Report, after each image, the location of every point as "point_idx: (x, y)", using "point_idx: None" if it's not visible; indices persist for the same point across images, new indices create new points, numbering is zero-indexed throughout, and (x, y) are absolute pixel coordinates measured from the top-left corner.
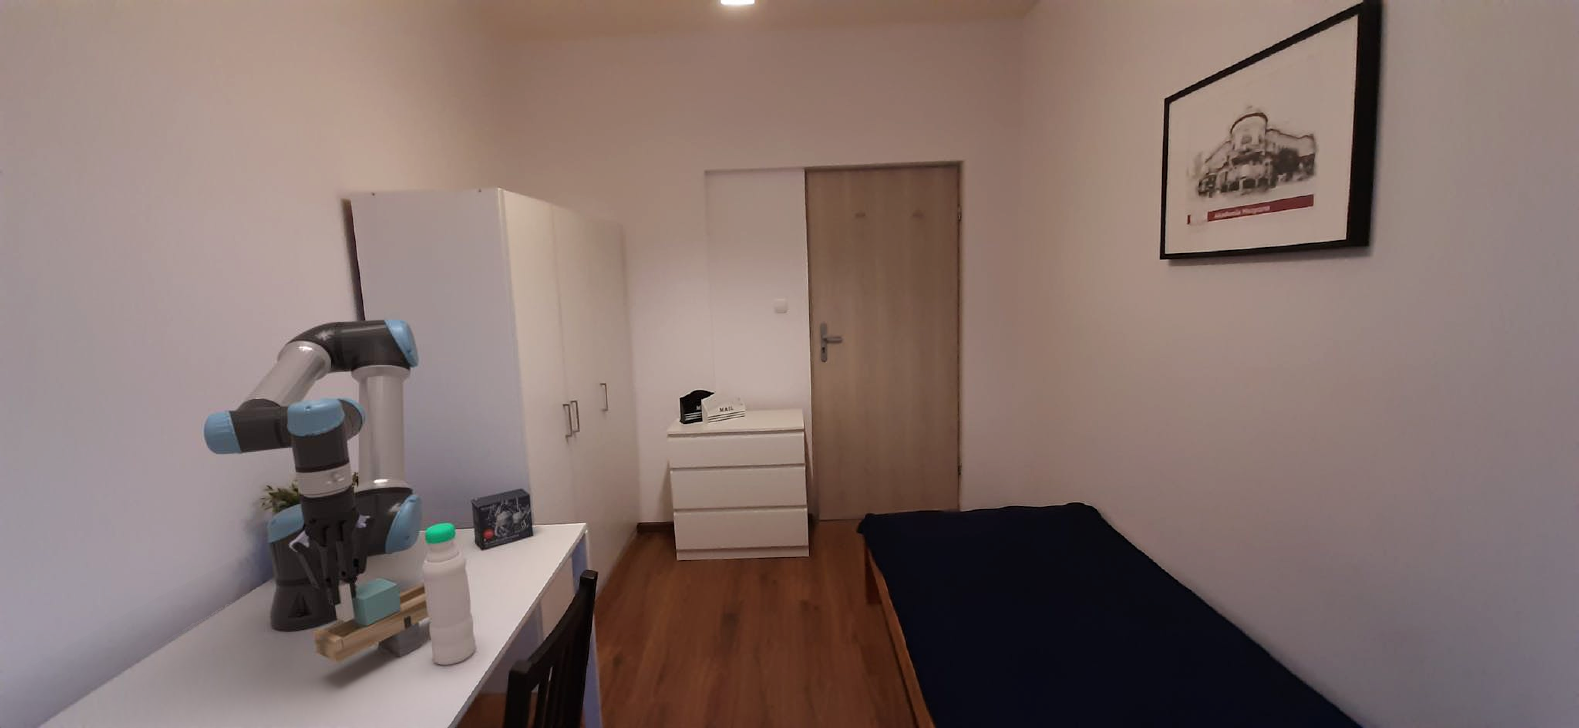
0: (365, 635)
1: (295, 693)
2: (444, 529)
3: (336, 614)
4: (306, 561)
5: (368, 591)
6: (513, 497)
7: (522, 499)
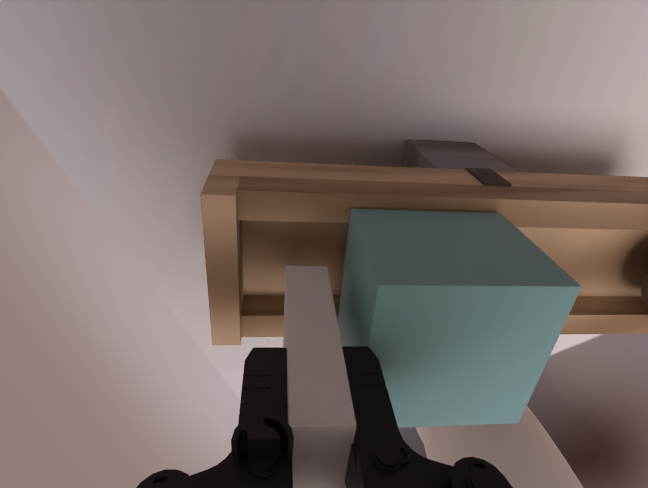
0: None
1: (152, 136)
2: None
3: (286, 277)
4: None
5: (426, 380)
6: None
7: None
